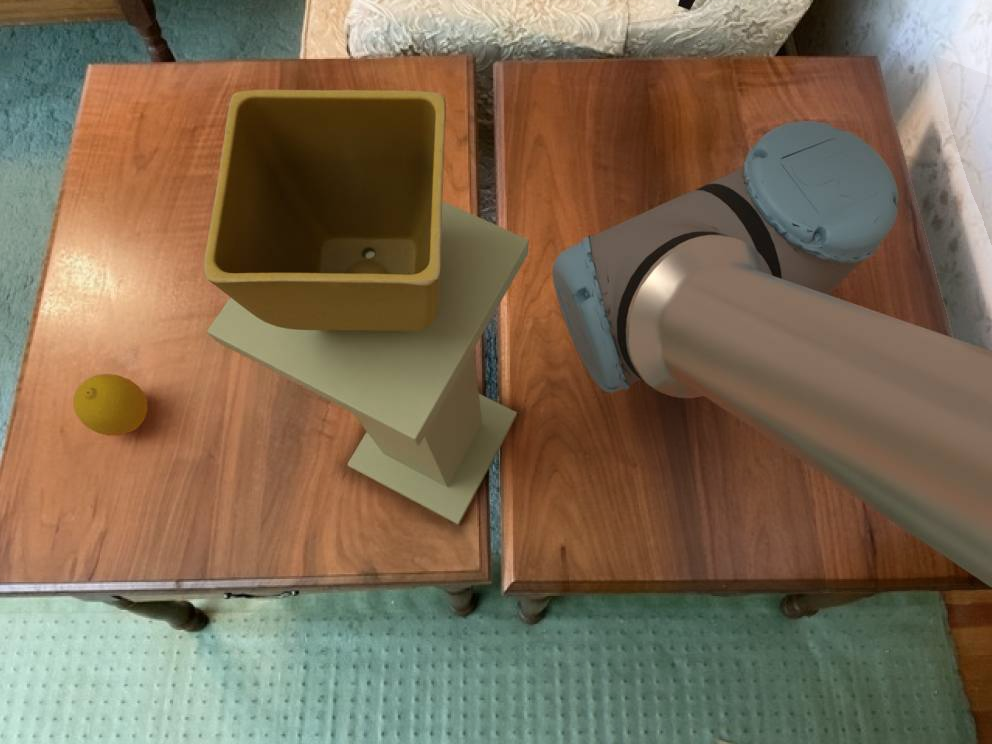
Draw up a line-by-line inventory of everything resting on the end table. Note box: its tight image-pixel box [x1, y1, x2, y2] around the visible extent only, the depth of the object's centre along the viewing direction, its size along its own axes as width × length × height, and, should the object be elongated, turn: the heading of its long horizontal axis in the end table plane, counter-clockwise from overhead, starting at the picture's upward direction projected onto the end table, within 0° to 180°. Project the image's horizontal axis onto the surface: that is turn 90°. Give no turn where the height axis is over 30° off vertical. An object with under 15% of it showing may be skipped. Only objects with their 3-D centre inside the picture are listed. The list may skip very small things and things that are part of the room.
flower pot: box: [203, 89, 447, 331], centre depth 31 cm, size 9×9×9 cm
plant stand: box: [206, 200, 530, 526], centre depth 51 cm, size 12×12×34 cm
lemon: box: [72, 373, 149, 437], centre depth 65 cm, size 6×6×8 cm
